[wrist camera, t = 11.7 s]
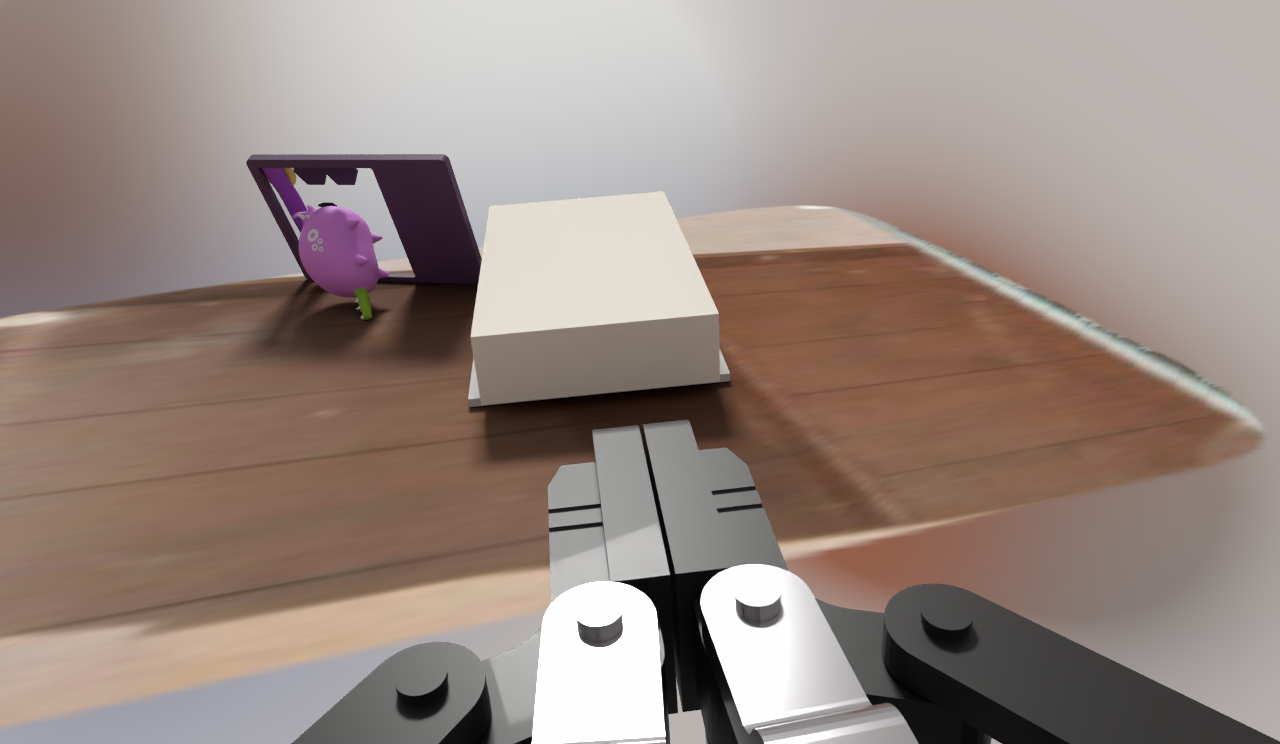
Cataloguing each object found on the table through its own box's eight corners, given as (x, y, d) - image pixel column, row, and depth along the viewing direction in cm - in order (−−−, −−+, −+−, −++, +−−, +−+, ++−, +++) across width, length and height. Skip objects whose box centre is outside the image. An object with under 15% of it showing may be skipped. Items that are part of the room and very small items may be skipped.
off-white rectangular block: (470, 337, 29) (489, 206, 41) (481, 409, 30) (497, 260, 42) (718, 313, 29) (663, 191, 41) (719, 385, 30) (666, 245, 43)
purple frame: (453, 143, 36) (256, 144, 38) (409, 224, 33) (195, 220, 35) (493, 269, 41) (316, 264, 43) (458, 351, 38) (268, 342, 40)
